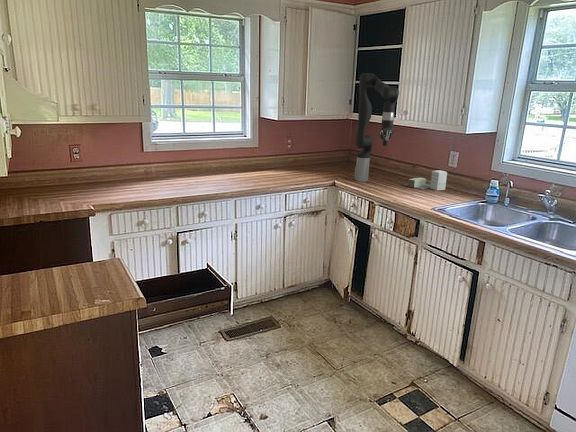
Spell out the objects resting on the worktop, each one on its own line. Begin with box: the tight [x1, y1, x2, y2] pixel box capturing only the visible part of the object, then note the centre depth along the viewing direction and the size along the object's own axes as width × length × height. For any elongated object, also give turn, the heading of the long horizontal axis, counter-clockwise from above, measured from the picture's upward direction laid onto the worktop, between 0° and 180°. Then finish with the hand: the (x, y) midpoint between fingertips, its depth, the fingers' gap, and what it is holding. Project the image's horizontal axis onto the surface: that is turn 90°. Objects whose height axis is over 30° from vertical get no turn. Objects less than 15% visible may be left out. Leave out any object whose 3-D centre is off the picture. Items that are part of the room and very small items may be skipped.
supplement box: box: [429, 169, 448, 191], centre depth 307 cm, size 7×7×13 cm
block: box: [407, 177, 427, 189], centre depth 314 cm, size 5×5×13 cm
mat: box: [403, 183, 431, 190], centre depth 317 cm, size 16×17×1 cm
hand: (384, 145), depth 294 cm, fingers closed
